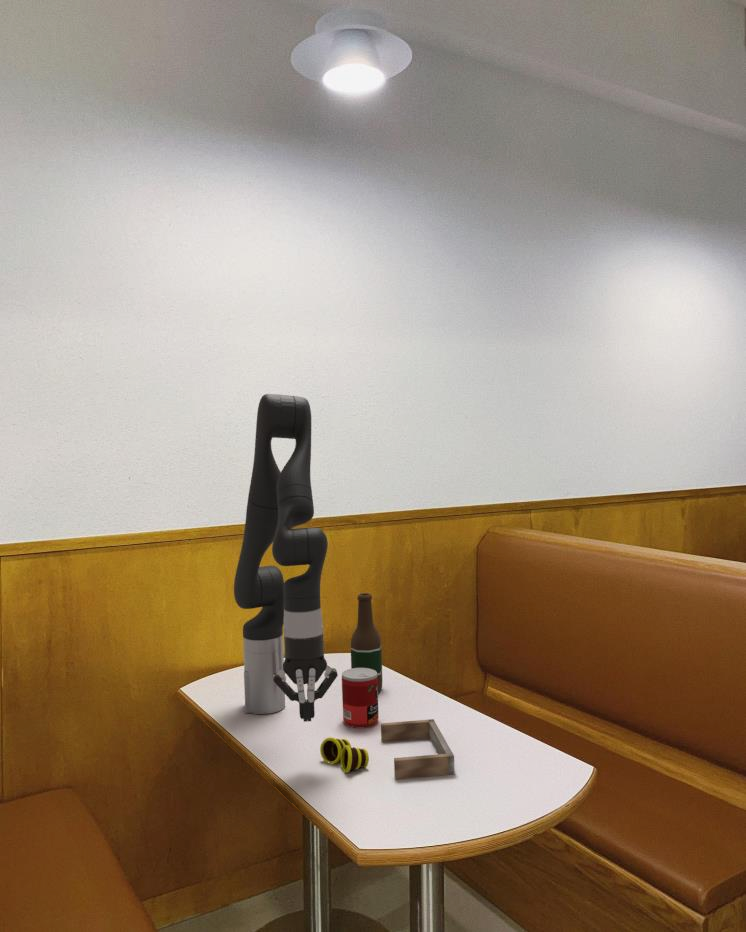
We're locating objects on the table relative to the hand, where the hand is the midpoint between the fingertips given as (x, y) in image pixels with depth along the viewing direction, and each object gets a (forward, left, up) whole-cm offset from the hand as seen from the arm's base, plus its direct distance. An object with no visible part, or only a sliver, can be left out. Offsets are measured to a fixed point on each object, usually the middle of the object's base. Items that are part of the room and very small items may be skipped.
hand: (307, 720), depth 152 cm
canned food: (+13, +20, -9) cm, 26 cm away
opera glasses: (+7, -1, -9) cm, 12 cm away
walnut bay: (+21, 0, -9) cm, 23 cm away
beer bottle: (+17, +40, -9) cm, 44 cm away
